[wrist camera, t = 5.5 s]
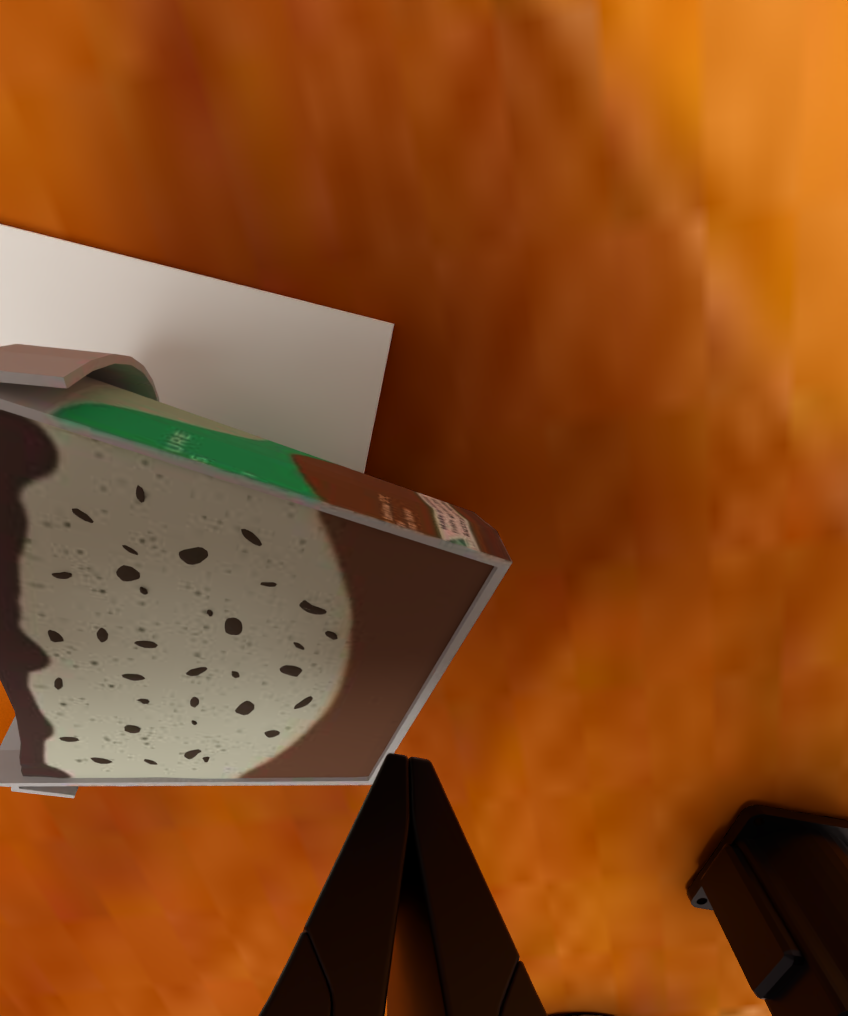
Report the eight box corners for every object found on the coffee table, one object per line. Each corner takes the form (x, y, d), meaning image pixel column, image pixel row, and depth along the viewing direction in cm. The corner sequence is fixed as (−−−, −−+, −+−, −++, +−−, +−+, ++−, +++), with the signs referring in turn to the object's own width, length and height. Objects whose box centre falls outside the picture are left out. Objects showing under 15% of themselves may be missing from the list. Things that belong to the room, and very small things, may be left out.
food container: (478, 381, 14) (85, 249, 11) (548, 504, 9) (-122, 328, 6) (356, 650, 21) (84, 613, 17) (359, 808, 16) (-19, 795, 13)
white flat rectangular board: (394, 323, 14) (393, 324, 13) (314, 718, 19) (311, 730, 19) (-15, 219, 13) (-35, 216, 12) (22, 667, 18) (9, 678, 18)
